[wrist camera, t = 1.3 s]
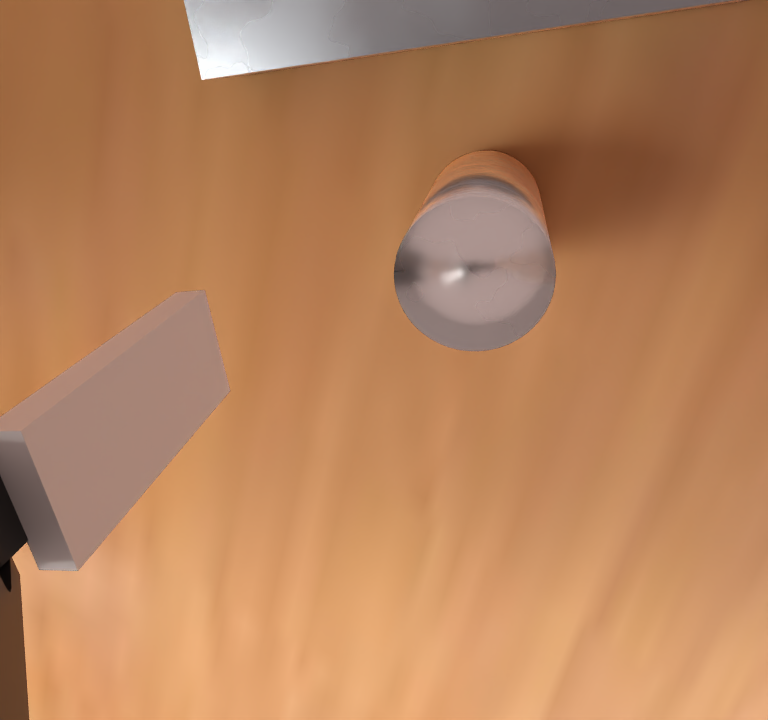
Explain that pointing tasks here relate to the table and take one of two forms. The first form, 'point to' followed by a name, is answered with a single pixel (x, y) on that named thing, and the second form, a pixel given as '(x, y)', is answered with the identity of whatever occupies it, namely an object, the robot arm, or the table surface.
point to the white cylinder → (477, 255)
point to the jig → (379, 27)
